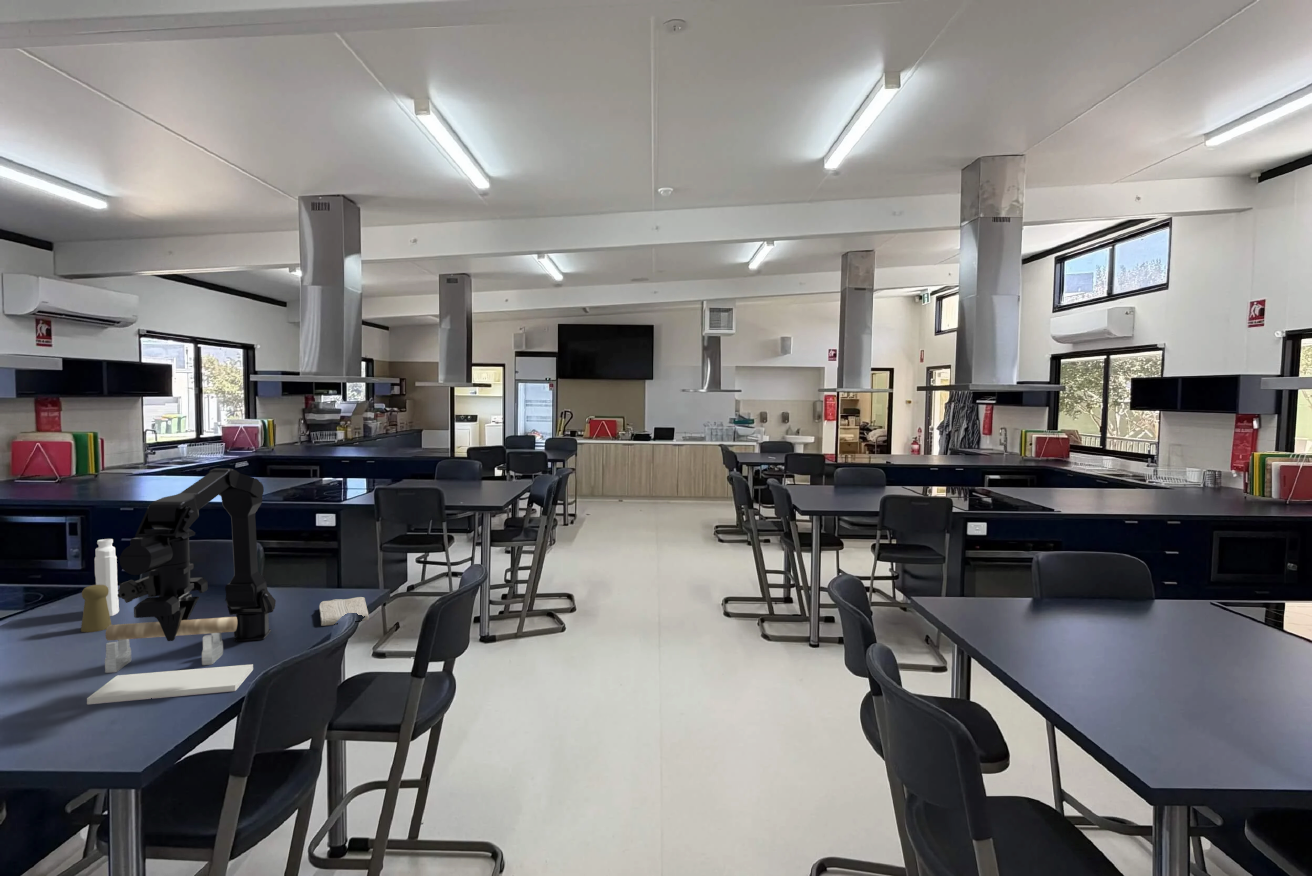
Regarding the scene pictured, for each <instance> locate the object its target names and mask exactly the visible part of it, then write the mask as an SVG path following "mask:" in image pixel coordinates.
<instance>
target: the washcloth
mask: <svg viewBox="0 0 1312 876" xmlns="http://www.w3.org/2000/svg"><path fill="white" fill-rule="evenodd" d="M318 608H319V614H320V615H319V616H320V617H319V618H320V626H322V627H323V626H325V627H327V626H334V624H335V623H336V622H337V621H338V620H339V619H340V618H341V617H342V616H344V615H345V614H347V613H357V614H358V615H362V616H363V617H364V616H365V618H364V619H363V620H362V621H361V622H364V621H368V620H369V619H370V616H369V610H368V608H367V603H366V598H365V597H362V596H357V597H352V598H346V599H340V598H339V599H338V598H337V599H332V600H331V599H329V600H323V601H321V602H320V603H319V607H318ZM335 625H336V624H335Z"/></svg>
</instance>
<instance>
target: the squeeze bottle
mask: <svg viewBox="0 0 1312 876" xmlns="http://www.w3.org/2000/svg"><path fill="white" fill-rule="evenodd" d="M113 543H114V539H113V538H104V539H103V538H102V539H98V540H97V542H96V544H97V545H98V547H96V548H95V557H94V577H95V585H106V586H107V587H108V589H109V592H108V595H107V596H106V600H107V605H108V610H109V615H110V617H113V616H115V615H117V614H118V613H119V612H120V607H119V606H120V605H119V604H120V602H119V601H120V600H119V597H118V594H119V592H118V589H119V586H118V563H117V562H118V560H117V559H118V557H117V555H116V547H115V546H113Z"/></svg>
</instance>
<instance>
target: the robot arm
mask: <svg viewBox="0 0 1312 876" xmlns="http://www.w3.org/2000/svg"><path fill="white" fill-rule="evenodd" d="M264 489H265V487H264V485H263V483H262V481H260V480H259V479H258V478H254V477H253V476H250V475H246V474H244V473H240V472H239V471H238V470H236V469H233V468H213V469H210V470H209V471H208V473H207V474H206V475H205V476H203V477H201V478H200V479H199V480H196V481H195V482H194V483H192V485H190V486H188V487H187V488H186V489H184V490H183V491H181V492H179V493H176V494H174V495H169V496H164V497H161V498H158V499H156V500H154V501H152V502H151V503H150V504H149V505H148V506H147V509H146V511H145V513H144V515H143V517H142V520H141V522H140V523H139V525H138V528H137V530H136V533H135V534H134V537H133V538H130V541H129V542H130V544H129V545H128V546H127V547H125V548H124V549H123V550H122V552H121V554H120V556H119V560H118V561H119V562H118V563H119V565H120V567H121V569H122V570H123V571H124V572H125V573H127V574H129V575H132V576H139V575H143V574H146V573H148V576H146V577H143V578H140V579H137V580H134V579H130V580H128V581H124V582H122V583H119V586H118V599H119V598H120V599H123V600H124V603H125V604H126V603H127V604H128V603H130V602H132V601H134V600H136V599H138V598H141V597H144V596H147V597H146V598H145V599H143V600H141V601H140V602H138V603H137V604H136V605H135V606H134V607H133V617H134V618H135V619H141V618H155V619H157V622H159V623H160V625H161V627H162V630H163V632H164V634H165V637H164V638H166V641H167V642H173V641H175V639H176V637H177V636H176V634H177V632H178V629H179V626H180V623H181V620H190V619H189V618H190V617H191V615H192V612H193V610H194V608H195V607H196V604H197V602H198V601H199V600H200V596H192V593H190V592H192V591H193V592H195V591H198V592H199V594H203V593H206V591H207V590H208V589H209V587H208V580H207V579H205V578H204V577H191V571H192V570H194V569H195V568H194V565H195V564H194V563H191V562H190V561H191V560H190V537H193V536H195V535H196V532H195V531H194V530H192V529H190V527H192V525H193V524H194V522H196V520H198V518H199V517H200V513H199V511H200V510H201V509H202V508H203V507H205V506H206V505H207V504H209V503H210V502H211V501H212V500H214V499H215V498H216V497H218V496H219V497H220V498H221V504H222V506H223V508H224V509H225V511H226V512H227V513H228V514H229V516H230V518H231V536H232V538H231V540H232V555H233V556H232V557H233V577H232V578H231V580H230V581H229V583H227V584H226V585H225V588H224V590H225V591H224V592H225V600H224V601H225V603H226V607H227V610H228V614H229V616H232V615H235V617H237V629H236V631H235V632H233V635H234V636H233V637H234V639H233V641H234V642H244V641H245V642H247V641H261V640H265V639H266V638H267V636H269V634H270V633H272V629H269V628H270V626H269V625H270V624H269V614H270V613H273V612H274V610H275V608H276V603H277V601H276V599H275V598H274V597H273V595H272V594H271V592H269V590H268V584H267V581H266V579H265V578H264V576H263V575H262V574H261V573H260V571H259V565H258V564H259V563H258V541H257V524H256V521H257V520H256V512H258V509H259V508H260V507H261V505H262V503H263V494H264Z"/></svg>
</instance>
